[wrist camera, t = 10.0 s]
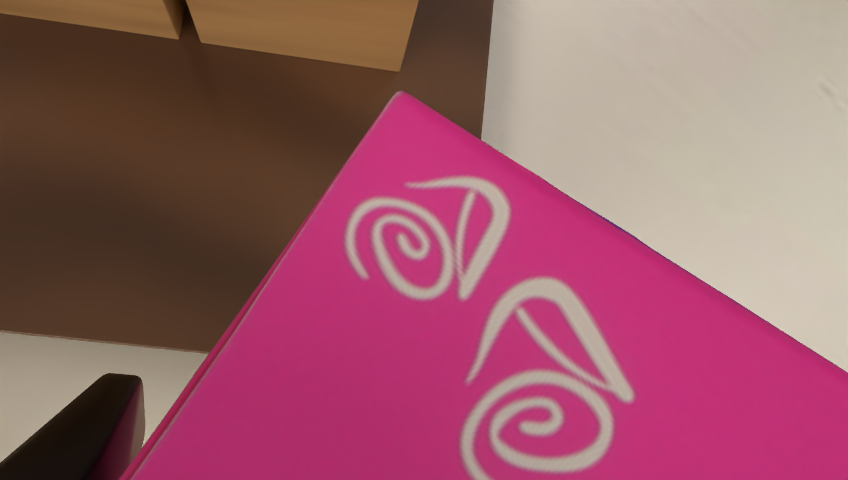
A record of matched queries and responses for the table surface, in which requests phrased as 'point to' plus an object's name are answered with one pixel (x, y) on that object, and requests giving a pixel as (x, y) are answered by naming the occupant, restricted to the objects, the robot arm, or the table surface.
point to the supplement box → (490, 344)
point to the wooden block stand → (194, 145)
